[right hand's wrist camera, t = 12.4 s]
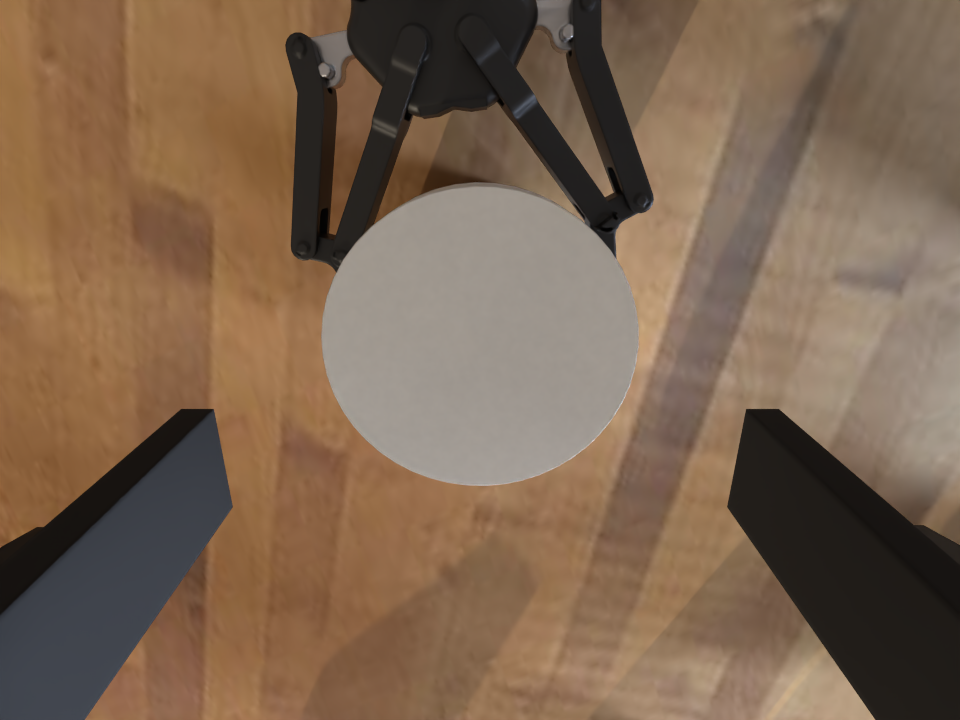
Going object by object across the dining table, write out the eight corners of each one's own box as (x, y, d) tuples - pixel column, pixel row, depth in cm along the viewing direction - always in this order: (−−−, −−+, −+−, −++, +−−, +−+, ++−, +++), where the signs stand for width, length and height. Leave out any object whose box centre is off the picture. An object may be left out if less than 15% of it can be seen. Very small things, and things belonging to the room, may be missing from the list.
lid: (532, 117, 19) (539, 113, 17) (670, 373, 23) (690, 397, 21) (277, 286, 22) (254, 302, 19) (439, 497, 25) (435, 530, 23)
